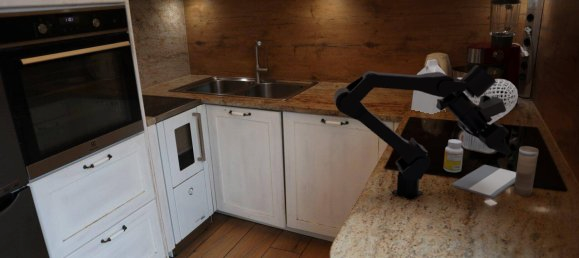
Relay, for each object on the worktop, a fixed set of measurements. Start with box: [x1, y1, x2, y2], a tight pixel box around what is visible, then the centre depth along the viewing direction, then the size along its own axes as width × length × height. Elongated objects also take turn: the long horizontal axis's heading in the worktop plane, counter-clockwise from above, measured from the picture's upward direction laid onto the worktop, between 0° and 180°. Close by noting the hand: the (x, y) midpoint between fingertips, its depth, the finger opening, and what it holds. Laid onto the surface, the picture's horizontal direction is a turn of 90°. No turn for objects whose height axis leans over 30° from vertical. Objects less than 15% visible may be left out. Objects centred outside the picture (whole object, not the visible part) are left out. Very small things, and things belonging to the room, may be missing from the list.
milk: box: [410, 59, 446, 114], centre depth 202 cm, size 12×12×26 cm
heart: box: [457, 77, 519, 125], centre depth 172 cm, size 28×16×22 cm, turn 68°
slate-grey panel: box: [451, 164, 516, 199], centre depth 126 cm, size 22×12×1 cm, turn 132°
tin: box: [457, 129, 498, 155], centre depth 150 cm, size 15×3×8 cm, turn 47°
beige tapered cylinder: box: [513, 145, 539, 197], centre depth 116 cm, size 5×5×13 cm
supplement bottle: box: [443, 138, 464, 173], centre depth 134 cm, size 5×5×10 cm
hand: (499, 147), depth 114 cm, fingers open, 9 cm apart
